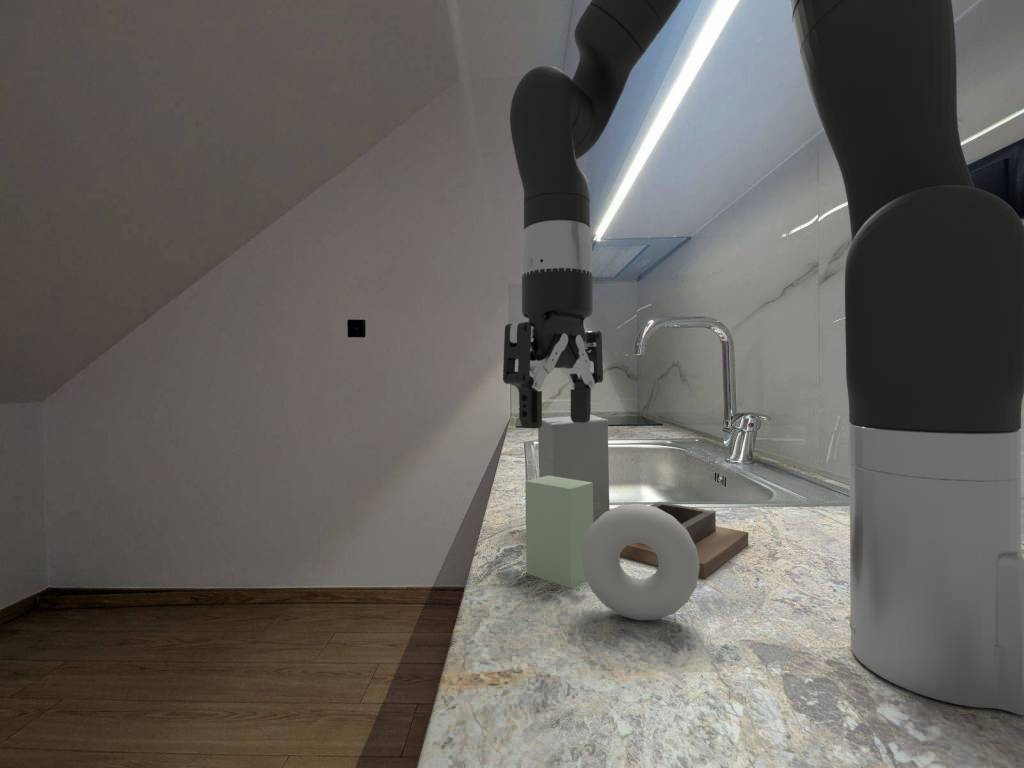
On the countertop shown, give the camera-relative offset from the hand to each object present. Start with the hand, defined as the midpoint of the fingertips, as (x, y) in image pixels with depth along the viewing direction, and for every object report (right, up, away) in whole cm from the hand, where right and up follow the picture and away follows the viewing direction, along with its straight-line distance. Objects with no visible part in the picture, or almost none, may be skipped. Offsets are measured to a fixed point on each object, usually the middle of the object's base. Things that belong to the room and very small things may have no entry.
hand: (557, 424), depth 52 cm
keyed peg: (0, -16, 0) cm, 16 cm away
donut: (+6, -16, -10) cm, 20 cm away
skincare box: (+4, -16, +15) cm, 22 cm away
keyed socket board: (+15, -16, +8) cm, 23 cm away
